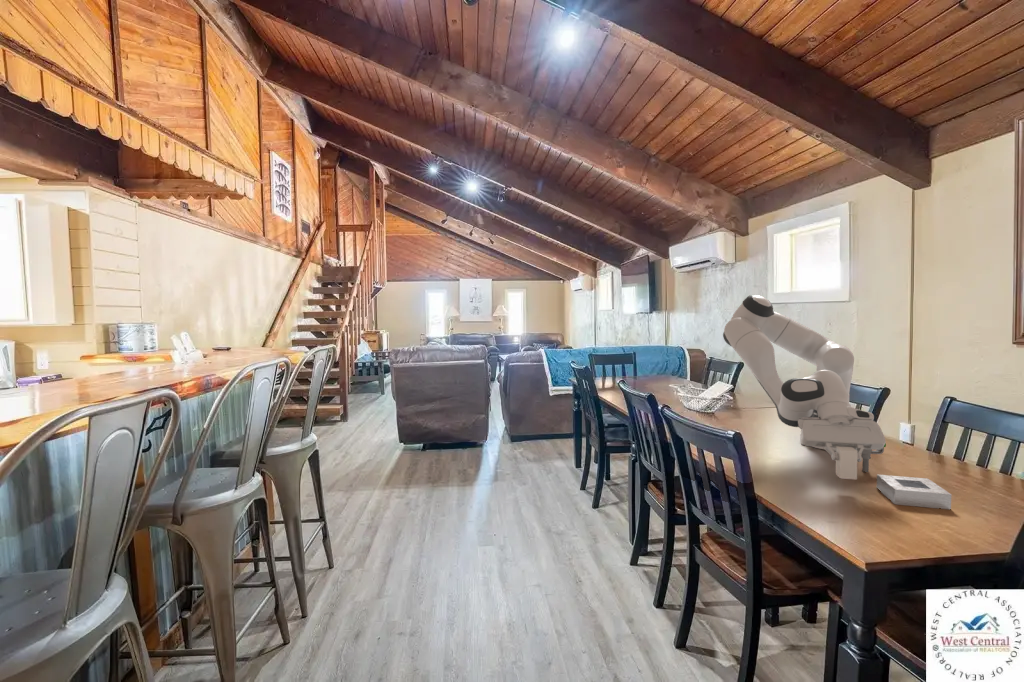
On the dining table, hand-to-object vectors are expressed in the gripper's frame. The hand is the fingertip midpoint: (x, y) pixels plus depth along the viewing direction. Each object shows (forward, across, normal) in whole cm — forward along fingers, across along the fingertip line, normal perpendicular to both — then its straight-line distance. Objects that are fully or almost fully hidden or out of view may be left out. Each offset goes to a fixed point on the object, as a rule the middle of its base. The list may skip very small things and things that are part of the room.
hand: (847, 460), depth 134 cm
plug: (+3, 0, +4) cm, 5 cm away
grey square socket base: (+6, +15, +7) cm, 18 cm away
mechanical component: (-8, +11, +22) cm, 26 cm away
